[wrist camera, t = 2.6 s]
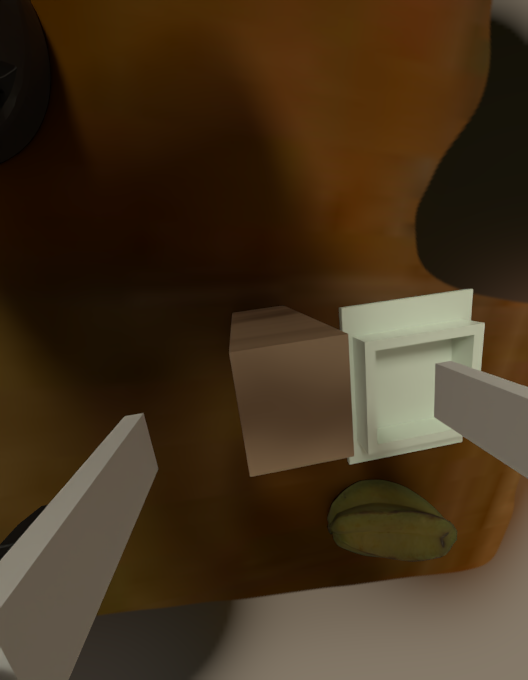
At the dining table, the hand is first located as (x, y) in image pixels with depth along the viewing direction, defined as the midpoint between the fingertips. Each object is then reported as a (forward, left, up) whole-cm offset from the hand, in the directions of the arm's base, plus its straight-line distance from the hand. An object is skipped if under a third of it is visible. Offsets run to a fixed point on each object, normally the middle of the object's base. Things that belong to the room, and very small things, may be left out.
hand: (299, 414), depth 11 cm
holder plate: (+7, +15, -14) cm, 21 cm away
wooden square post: (0, 0, -14) cm, 14 cm away
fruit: (+22, +11, -14) cm, 29 cm away
